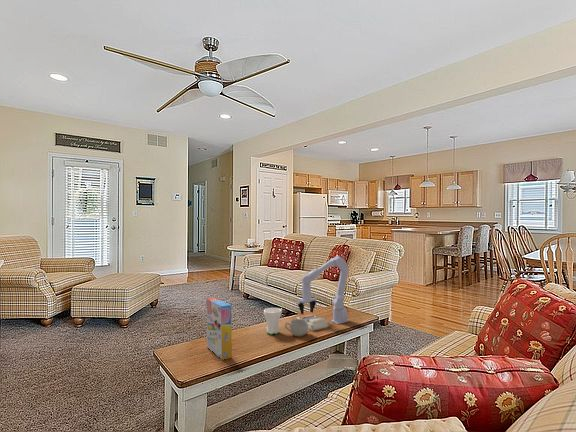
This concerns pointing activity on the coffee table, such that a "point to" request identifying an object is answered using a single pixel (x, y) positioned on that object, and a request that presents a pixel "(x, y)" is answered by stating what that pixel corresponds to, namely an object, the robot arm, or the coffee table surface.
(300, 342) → the coffee table surface
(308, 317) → the terracotta key
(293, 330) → the teacup
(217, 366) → the coffee table surface
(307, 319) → the slate key
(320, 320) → the ivory key
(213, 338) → the game box
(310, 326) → the cream drawer frame
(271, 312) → the cup
